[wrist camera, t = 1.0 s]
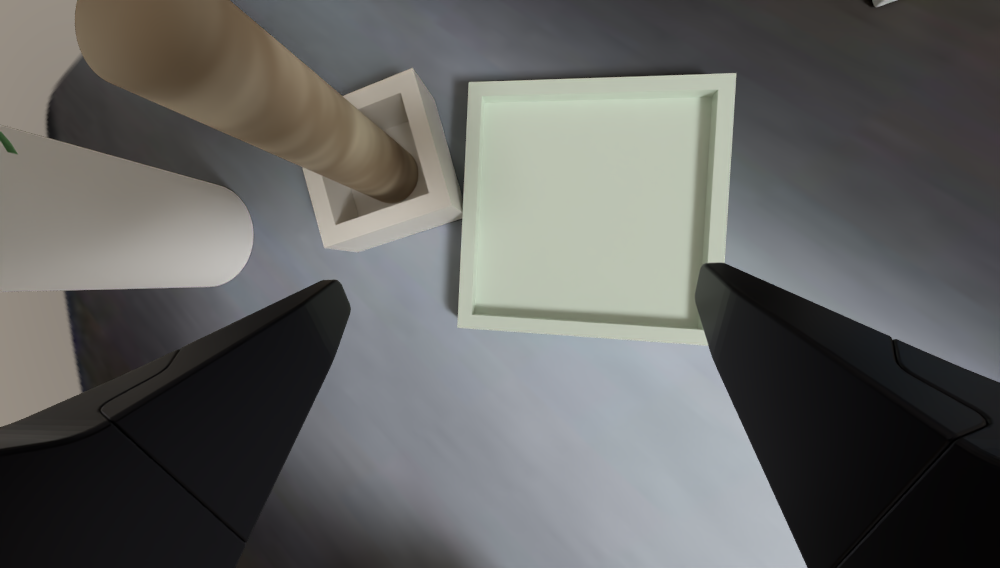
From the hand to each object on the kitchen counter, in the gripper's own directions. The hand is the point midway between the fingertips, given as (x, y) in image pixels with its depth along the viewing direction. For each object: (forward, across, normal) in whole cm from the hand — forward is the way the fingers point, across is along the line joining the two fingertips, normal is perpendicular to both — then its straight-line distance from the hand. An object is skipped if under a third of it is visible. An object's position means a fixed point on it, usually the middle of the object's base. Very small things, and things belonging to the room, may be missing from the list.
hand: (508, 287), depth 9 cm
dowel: (+14, +9, +1) cm, 17 cm away
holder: (+15, +9, +1) cm, 17 cm away
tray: (+13, -3, +4) cm, 14 cm away
